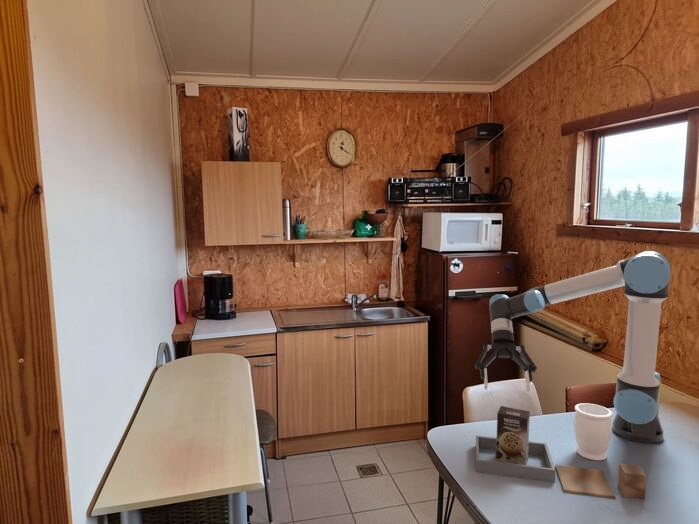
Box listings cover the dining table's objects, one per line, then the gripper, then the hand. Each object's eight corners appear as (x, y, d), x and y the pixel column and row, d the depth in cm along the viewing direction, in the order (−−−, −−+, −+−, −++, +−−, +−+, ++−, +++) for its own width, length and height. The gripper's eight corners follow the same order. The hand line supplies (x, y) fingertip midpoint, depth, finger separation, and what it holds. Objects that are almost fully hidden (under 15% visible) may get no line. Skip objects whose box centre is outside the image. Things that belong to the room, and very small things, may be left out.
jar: (568, 454, 146) (570, 410, 144) (578, 442, 153) (580, 400, 152) (605, 466, 139) (607, 419, 137) (614, 453, 146) (616, 409, 145)
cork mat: (602, 472, 136) (602, 470, 136) (615, 498, 123) (615, 496, 123) (555, 466, 139) (555, 464, 139) (563, 491, 127) (563, 489, 127)
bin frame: (546, 453, 147) (546, 443, 146) (555, 481, 131) (555, 470, 131) (475, 445, 152) (475, 435, 152) (476, 471, 137) (476, 460, 137)
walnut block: (637, 489, 128) (639, 465, 127) (644, 499, 123) (646, 475, 122) (618, 486, 129) (619, 463, 128) (623, 497, 124) (625, 473, 123)
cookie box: (495, 462, 142) (496, 412, 141) (498, 452, 148) (499, 405, 146) (526, 469, 138) (527, 418, 136) (528, 459, 144) (530, 410, 142)
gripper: (536, 340, 166) (544, 396, 153) (466, 337, 170) (468, 391, 157) (540, 330, 160) (549, 387, 147) (467, 326, 164) (469, 381, 151)
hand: (507, 389), depth 152 cm, fingers open, 13 cm apart
